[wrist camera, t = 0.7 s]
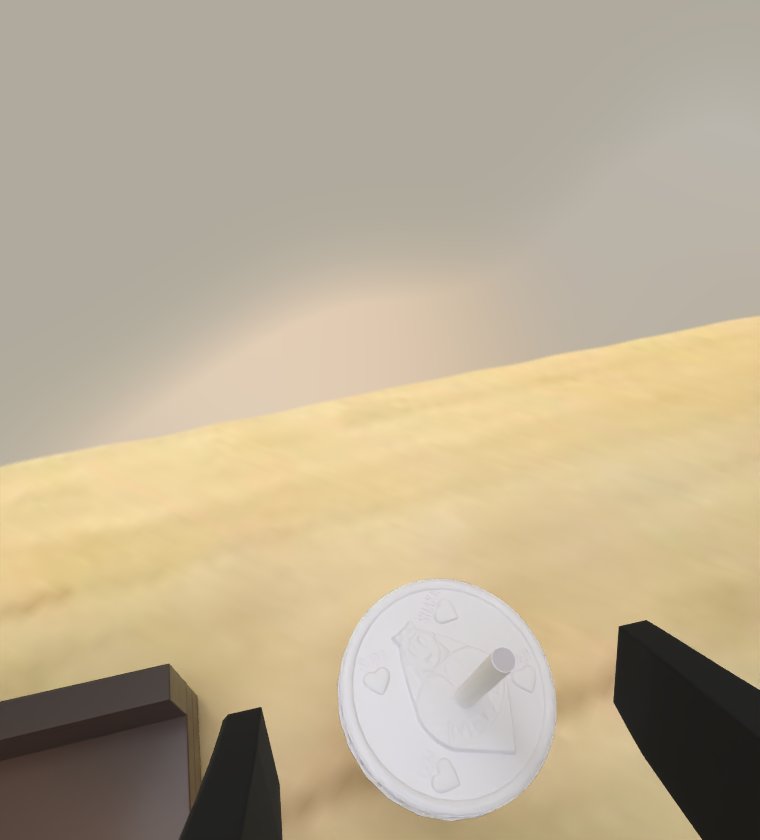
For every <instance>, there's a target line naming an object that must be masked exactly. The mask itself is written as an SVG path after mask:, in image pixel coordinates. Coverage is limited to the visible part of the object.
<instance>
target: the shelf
mask: <svg viewBox="0 0 760 840" xmlns="http://www.w3.org/2000/svg"><path fill="white" fill-rule="evenodd" d="M200 786H201V766H200V744H199V723H198V702H197V695H196V694H195V693H194V692H193V691H192V690H191V688H190V687H189V686H188V685H187V684H186V682H185V681H184V680H183V679H182V678H181V677H180V675H179V674H178V673H177V672H176V671H175V670H174V669H173V667H172V666H171V665H170V664H165V665H161V666H156V667H152V668H147V669H143V670H139V671H134V672H130V673H125V674H121V675H116V676H112V677H108V678H103V679H99V680H94V681H90V682H85V683H81V684H76V685H72V686H68V687H63V688H59V689H54V690H50V691H45V692H41V693H37V694H32V695H28V696H23V697H19V698H14V699H10V700H5V701H1V702H0V840H179V838H180V835H181V833H182V830H183V828H184V826H185V823H186V821H187V818H188V816H189V813H190V811H191V809H192V806H193V804H194V801H195V799H196V797H197V794H198V791H199V789H200Z"/></svg>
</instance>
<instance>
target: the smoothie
mask: <svg viewBox="0 0 760 840" xmlns="http://www.w3.org/2000/svg"><path fill="white" fill-rule="evenodd" d="M337 689H338V706H339V718H340V721H341V724H342V728H343V731H344V734H345V737H346V741H347V744H348V747H349V749H350V751H351V753H352V754H353V756H354V758H355V759H356V761H357V763H358V764H359V766H360V768H361V769H362V771H363V773H364V774H365V776H366V777H367V778H368V779H369V780H370V781H371V782H372V783H373V784H374V785H375V786H376V787H377V788H378V789H379V790H380V791H381V792H382V793H383V794H384V795H385V796H386V797H387V798H388V799H389V800H391V801H393V802H395V803H397V804H398V805H400V806H402V807H404V808H406V809H408V810H410V811H412V812H413V813H415V814H417V815H420V816H425V817H430V818H435V819H440V820H446V821H455V820H463V819H470V818H477V817H481V816H483V815H485V814H487V813H489V812H491V811H493V810H496V809H498V808H500V807H502V806H504V805H506V804H507V803H509V802H511V801H512V800H513V799H515V798H516V797H517V796H518V795H520V794H521V793H522V792H523V791H524V790H525V789H526V788H527V787H528V786H529V785H530V783H531V782H532V781H533V780H534V778H535V777H536V776H537V774H538V773H539V771H540V769H541V768H542V766H543V764H544V762H545V760H546V758H547V755H548V753H549V750H550V747H551V744H552V740H553V736H554V731H555V724H556V695H555V687H554V682H553V677H552V673H551V670H550V667H549V664H548V661H547V659H546V656H545V654H544V652H543V650H542V647H541V645H540V644H539V642H538V640H537V638H536V637H535V635H534V634H533V632H532V631H531V629H530V628H529V626H528V625H527V624H526V623H525V622H524V620H523V619H522V618H521V617H520V616H519V615H518V614H517V613H516V612H515V611H514V610H513V609H512V608H511V607H510V606H508V605H507V604H506V603H505V602H503V601H502V600H501V599H499V598H498V597H496V596H495V595H493V594H491V593H490V592H488V591H486V590H484V589H482V588H480V587H477V586H474V585H472V584H469V583H465V582H462V581H457V580H450V579H427V580H421V581H416V582H412V583H409V584H406V585H404V586H401V587H399V588H397V589H395V590H393V591H391V592H389V593H388V594H387V595H385V596H384V597H382V598H381V599H380V600H379V601H377V602H376V603H375V604H374V605H373V606H372V607H371V608H370V609H369V610H368V611H367V612H366V614H365V615H364V616H363V617H362V619H361V620H360V622H359V623H358V625H357V626H356V628H355V630H354V632H353V634H352V636H351V638H350V641H349V643H348V645H347V648H346V650H345V652H344V654H343V657H342V662H341V668H340V673H339V678H338V684H337Z"/></svg>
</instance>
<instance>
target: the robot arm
mask: <svg viewBox="0 0 760 840" xmlns="http://www.w3.org/2000/svg"><path fill="white" fill-rule="evenodd" d="M613 702H614V704H615V706H616V708H617V709H618V711H619V713H620V715H621V717H622V719H623V721H624V723H625V724H626V726H627V728H628V730H629V732H630V733H631V735H632V737H633V739H634V740H635V742H636V744H637V746H638V747H639V749H640V751H641V753H642V754H643V756H644V757H645V759H646V760H647V762H648V763H649V765H650V766H651V768H652V769H653V770H654V772H655V773H656V775H657V776H658V778H659V779H660V780H661V782H662V783H663V785H664V786H665V788H666V789H667V790H668V792H669V793H670V795H671V796H672V798H673V799H674V800H675V802H676V803H677V805H678V806H679V807H680V809H681V810H682V812H683V813H684V815H685V816H686V817H687V819H688V820H689V822H690V823H691V824H692V826H693V827H694V829H695V830H696V831H697V833H698V834H699V836H700V837H701V839H702V840H760V690H759V689H757V688H755V687H754V686H752V685H750V684H749V683H747V682H745V681H744V680H742V679H740V678H739V677H737V676H736V675H734V674H732V673H731V672H729V671H727V670H726V669H724V668H723V667H721V666H719V665H718V664H716V663H715V662H713V661H711V660H710V659H708V658H707V657H705V656H703V655H702V654H700V653H699V652H697V651H695V650H694V649H692V648H691V647H689V646H688V645H686V644H684V643H683V642H681V641H680V640H678V639H676V638H675V637H673V636H672V635H670V634H668V633H667V632H665V631H664V630H662V629H660V628H659V627H657V626H655V625H654V624H652V623H650V622H649V621H647V620H645V621H641V622H636V623H632V624H627V625H623V626H619V632H618V646H617V660H616V674H615V687H614V701H613ZM179 840H282V821H281V802H280V784H279V780H278V775H277V771H276V767H275V763H274V759H273V754H272V750H271V746H270V742H269V738H268V733H267V729H266V725H265V721H264V716H263V712H262V708H261V707H259V708H255V709H251V710H246V711H242V712H237V713H233V714H228V715H227V716H226V718H225V719H224V720H223V722H222V726H221V729H220V732H219V736H218V739H217V742H216V745H215V748H214V751H213V754H212V756H211V759H210V762H209V765H208V768H207V770H206V773H205V776H204V778H203V781H202V784H201V786H200V789H199V791H198V794H197V797H196V799H195V801H194V804H193V806H192V809H191V811H190V813H189V816H188V818H187V821H186V823H185V826H184V828H183V830H182V833H181V835H180V838H179Z"/></svg>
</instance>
